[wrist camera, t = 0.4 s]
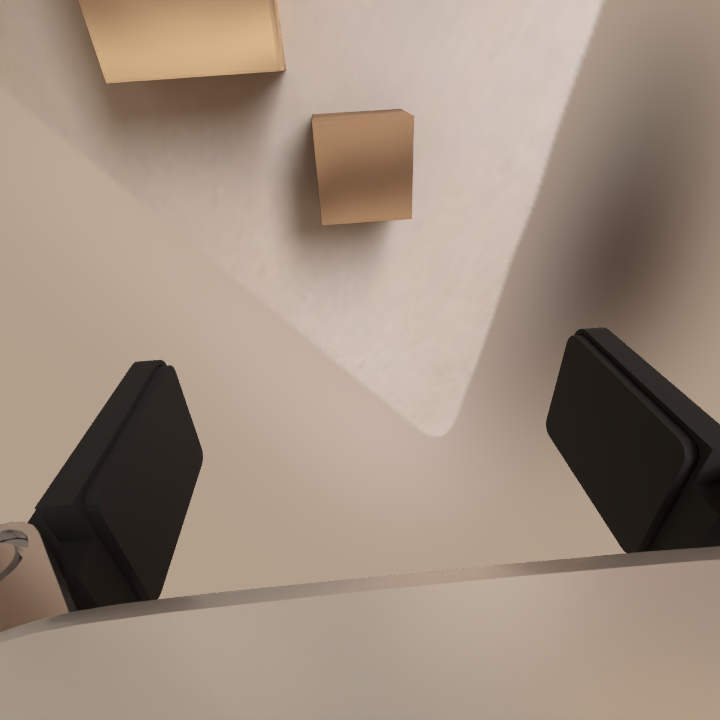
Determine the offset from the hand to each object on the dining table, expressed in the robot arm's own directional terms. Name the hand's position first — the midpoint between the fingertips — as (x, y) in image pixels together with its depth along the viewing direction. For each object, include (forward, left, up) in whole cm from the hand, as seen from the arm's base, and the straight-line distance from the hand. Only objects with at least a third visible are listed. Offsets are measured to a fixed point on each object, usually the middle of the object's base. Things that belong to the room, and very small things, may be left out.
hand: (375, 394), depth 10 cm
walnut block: (-1, +1, -25) cm, 25 cm away
